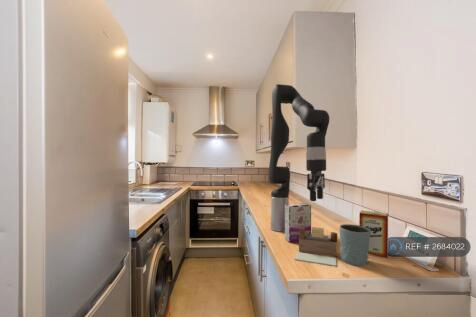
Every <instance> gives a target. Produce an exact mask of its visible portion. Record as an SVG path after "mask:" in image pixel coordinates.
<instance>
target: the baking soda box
mask: <svg viewBox="0 0 476 317" xmlns="http://www.w3.org/2000/svg"><path fill="white" fill-rule="evenodd" d="M359 226H363V227H366V228H368V229H370V231H371V233H370V239H369V249H368V255H372V256H376V257H382V258H388V256H389V213H388V212H381V211H373V210H372V211H370V210H361V211H360V212H359Z"/></svg>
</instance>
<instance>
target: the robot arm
mask: <svg viewBox="0 0 476 317" xmlns="http://www.w3.org/2000/svg"><path fill="white" fill-rule="evenodd" d="M271 92H272V93H271V107H272V108H271V110H272V111H271V112H272V114H271V115H272V119H271V120H272V121H271V134H270V135H271V136H270V157H269V158H270V159H269V167H268V182H269V184H273V185H274V184H275V185H276V184H277V185H278V184H279V185H280V186H279V188H275V189H274V190H271V192H270V193H271V194H270V196H271V197H270V230H272V231H274V232H285V204H290V201H289V200H290V199H289V196H290V183H291V171H290V170H291V169H290V168H289V167H288V166H278V162H279V158H280V157H281V155H282V154H283V152H284V150H285V149H286V148H287V146H288V145H289V141H290V127H289V124H288V122H287V121H286V119H285V117H284V115H283V112H282V104H283V105H284V104H286V105H287V104H288V105H289V104H291V109H292V111H293V112H294V113H295V115H297V116H298V117H299V118H300V120H301V123H302V125H304V126H305V127H309V128H316V129H315V131H314V132H309V133H308V134H307V136H306V153H305V155H306V156H305V158H306V161H305V162H306V166H305V168H306V169H305V170H306V171H308V172H310V173H307V175H306V178H307V179H306V180H307V185H306V187H307V188H306V189H307V190H308V191H309V201H310V202H317V199H318V200H322V199H324V194H323V193H324V188H326V184H325V183H326V181H325V180H326V178H325V177H326V176H325V173H323V172H325V171H327V151H326V136H327V131H328V128H329V124H330V115H329V113H328V111H327V110H325V109H317V108H316V109H315V107H314V105H313V104H312V103H310V102H309V101H307V100H306V99H305V98H303V96H302V95H301V94H300V92H298V90H297V89H296V88H295V87H294V86H293V85H290V84H289V85H288V84H281V83H280V84H278V83H277V84H275V85H274V86H273V87H272V91H271Z"/></svg>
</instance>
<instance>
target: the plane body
mask: <svg viewBox="0 0 476 317" xmlns="http://www.w3.org/2000/svg"><path fill="white" fill-rule="evenodd" d="M337 242H338V233H337V232H335V231H330V237H328V242H325V241H317V240H309V239H307V235H305V226H302V225H301V227H300V237H299V242H298V252H300V253H307V254H314V255H321V256H328V257H335V258H337V257H338V243H337Z"/></svg>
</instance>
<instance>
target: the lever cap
mask: <svg viewBox="0 0 476 317" xmlns="http://www.w3.org/2000/svg"><path fill="white" fill-rule="evenodd" d="M324 230H325V229H324V227H313V226H311V234H308V235H307V239H309V240H317V241H325V242H328V238H329V236H328V235H324V233H325V232H324Z"/></svg>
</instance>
